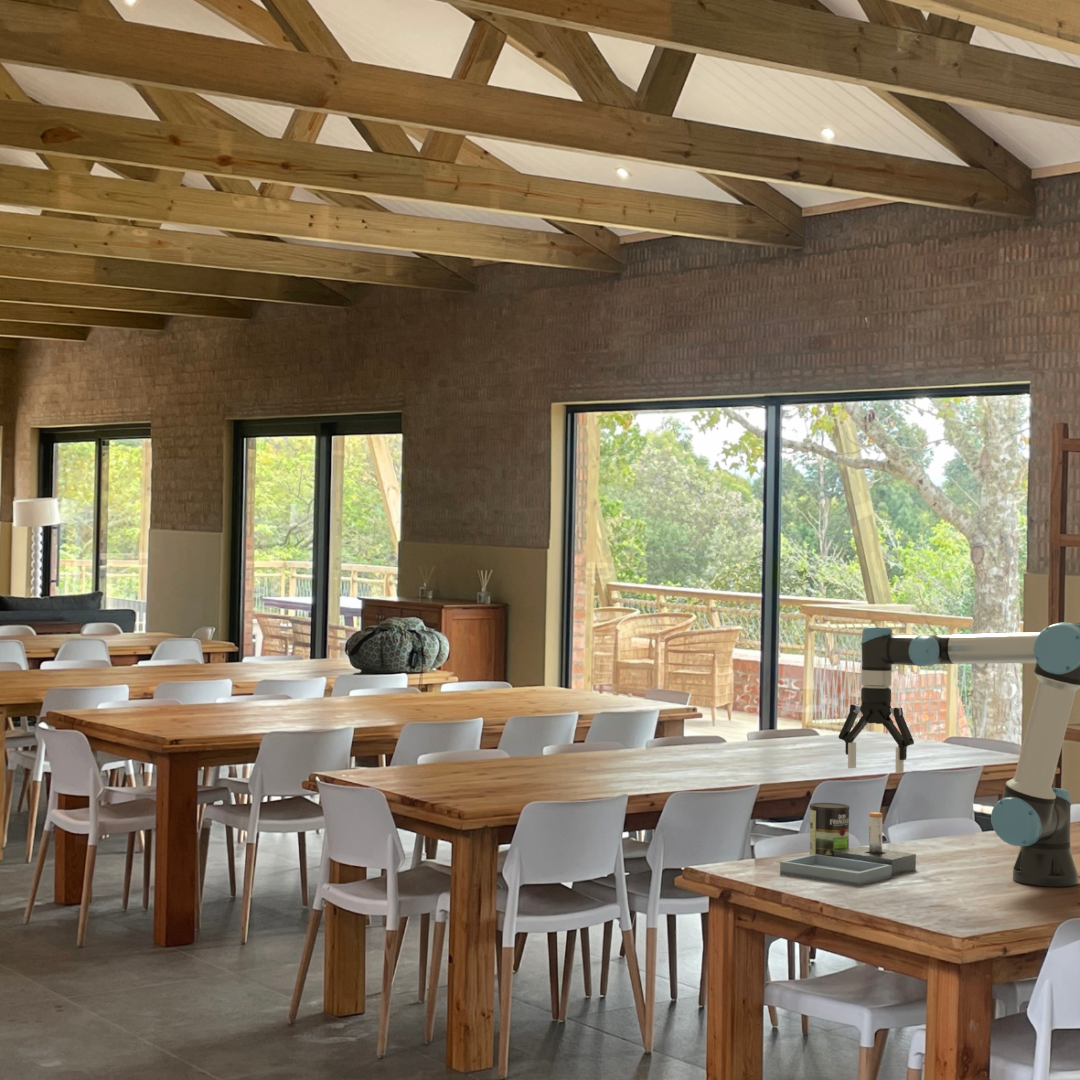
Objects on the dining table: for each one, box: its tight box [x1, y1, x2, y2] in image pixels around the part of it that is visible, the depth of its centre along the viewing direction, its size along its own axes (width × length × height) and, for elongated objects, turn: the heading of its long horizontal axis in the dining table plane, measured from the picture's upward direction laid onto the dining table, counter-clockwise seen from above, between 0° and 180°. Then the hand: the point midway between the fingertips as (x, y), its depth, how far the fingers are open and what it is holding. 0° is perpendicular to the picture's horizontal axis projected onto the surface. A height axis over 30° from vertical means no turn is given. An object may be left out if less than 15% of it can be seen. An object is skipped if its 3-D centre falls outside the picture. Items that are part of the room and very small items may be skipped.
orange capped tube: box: [868, 812, 883, 855], centre depth 379 cm, size 3×3×14 cm
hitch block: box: [836, 845, 917, 877], centre depth 378 cm, size 16×12×4 cm
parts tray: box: [779, 854, 893, 887], centre depth 368 cm, size 22×16×3 cm
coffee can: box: [809, 802, 850, 857], centre depth 392 cm, size 10×10×14 cm
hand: (875, 770), depth 379 cm, fingers open, 13 cm apart
